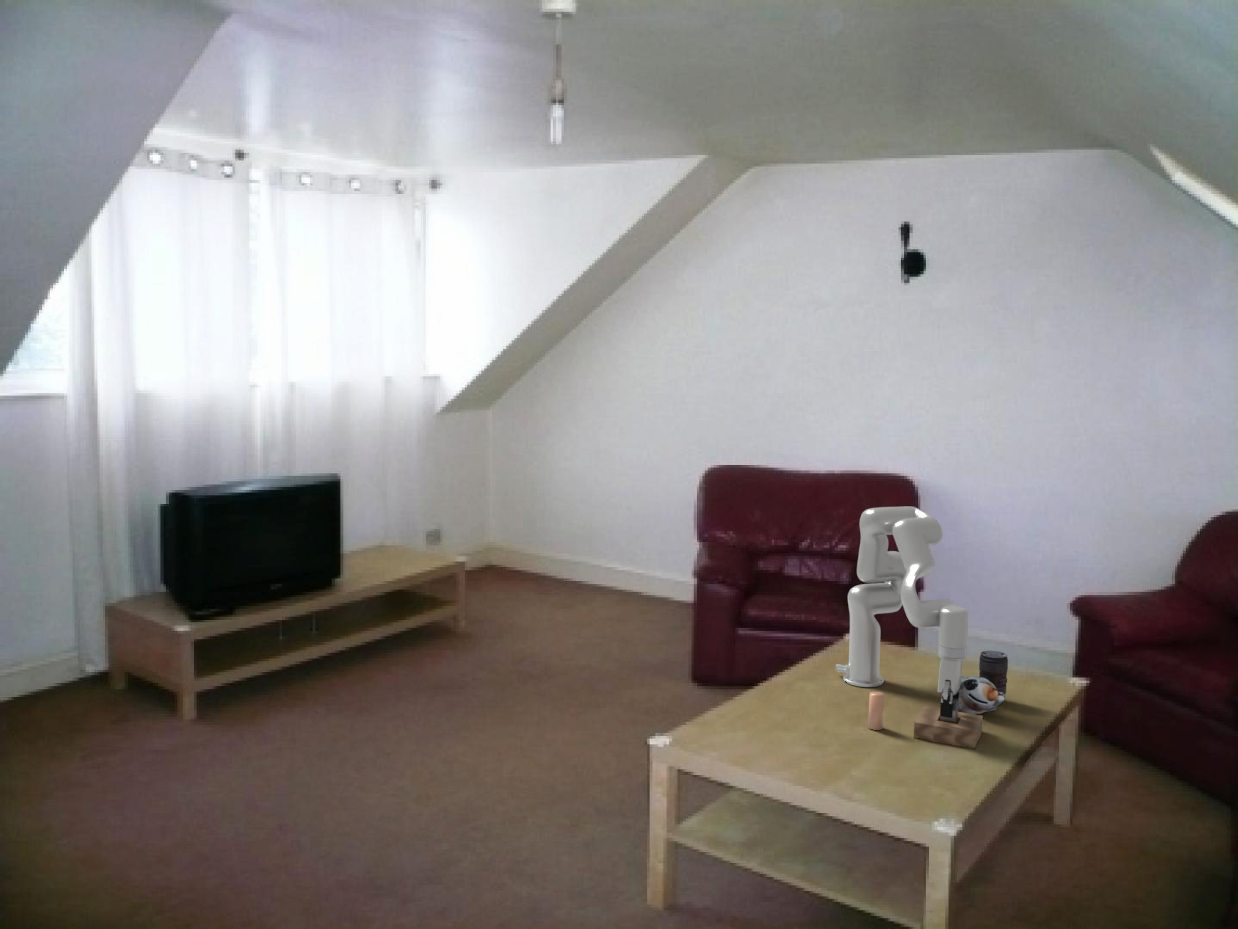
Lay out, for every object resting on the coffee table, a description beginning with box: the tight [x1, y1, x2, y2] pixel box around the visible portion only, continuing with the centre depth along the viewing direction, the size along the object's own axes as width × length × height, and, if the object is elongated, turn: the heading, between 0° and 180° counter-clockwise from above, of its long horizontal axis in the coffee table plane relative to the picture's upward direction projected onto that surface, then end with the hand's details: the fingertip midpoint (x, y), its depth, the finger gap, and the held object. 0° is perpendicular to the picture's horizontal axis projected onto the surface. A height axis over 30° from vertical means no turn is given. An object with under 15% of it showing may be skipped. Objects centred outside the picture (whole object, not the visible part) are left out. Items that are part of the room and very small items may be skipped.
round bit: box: [867, 691, 885, 731], centre depth 290 cm, size 4×4×10 cm
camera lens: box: [978, 650, 1009, 706], centre depth 312 cm, size 8×8×15 cm
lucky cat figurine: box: [958, 675, 1007, 715], centre depth 303 cm, size 15×12×14 cm
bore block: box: [913, 705, 984, 749], centre depth 286 cm, size 16×14×4 cm
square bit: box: [940, 698, 959, 724], centre depth 286 cm, size 4×4×10 cm
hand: (949, 711), depth 286 cm, fingers open, 9 cm apart
